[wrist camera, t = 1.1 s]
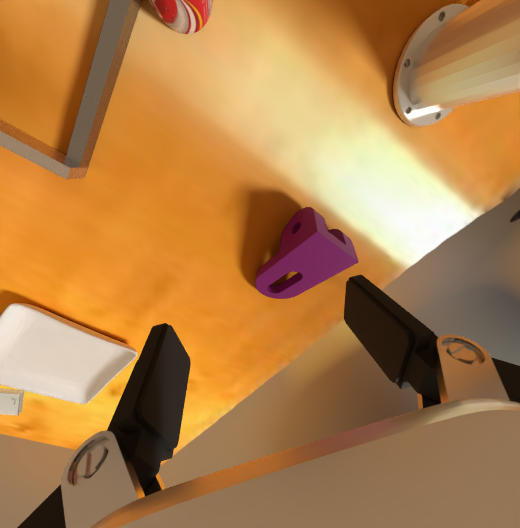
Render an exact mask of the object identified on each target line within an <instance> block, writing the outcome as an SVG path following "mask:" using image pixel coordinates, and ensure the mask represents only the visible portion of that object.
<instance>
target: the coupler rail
mask: <svg viewBox="0 0 520 528" xmlns="http://www.w3.org/2000/svg"><path fill="white" fill-rule="evenodd" d="M141 1H142V0H110V1H109V5H108V8H107V12H106V16H105V19H104V23H103V26H102V30H101V33H100V37H99V41H98V44H97V48H96V51H95V55H94V58H93V62H92V66H91V69H90V73H89V76H88V80H87V83H86V87H85V90H84V94H83V98H82V101H81V105H80V108H79V112H78V115H77V119H76V123H75V126H74V130H73V133H72V137H71V140H70V144H69V148H68V151H67V155H64V154H63V153H61V152H59V151H57V150H55V149H53V148H52V147H50V146H48V145H46V144H44V143H43V142H41V141H39V140H37V139H35V138H33V137H32V136H30V135H28V134H26V133H24V132H22V131H21V130H19V129H17V128H15V127H13V126H12V125H10V124H8V123H6V122H4V121H2V120H1V119H0V146H2V147H4V148H6V149H8V150H10V151H12V152H14V153H16V154H18V155H20V156H22V157H24V158H26V159H28V160H30V161H32V162H34V163H36V164H38V165H40V166H42V167H43V168H45V169H47V170H49V171H51V172H53V173H55V174H57V175H59V176H61V177H63V178H65V179H75V178H84V177H85V175H86V172H87V169H88V166H89V163H90V159H91V156H92V153H93V150H94V147H95V144H96V141H97V138H98V135H99V132H100V128H101V125H102V122H103V119H104V116H105V113H106V110H107V107H108V104H109V101H110V97H111V94H112V91H113V88H114V85H115V82H116V79H117V76H118V73H119V69H120V66H121V63H122V60H123V57H124V54H125V51H126V48H127V45H128V42H129V38H130V35H131V32H132V29H133V26H134V23H135V20H136V17H137V14H138V11H139V7H140V4H141Z"/></svg>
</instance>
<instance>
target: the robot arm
mask: <svg viewBox="0 0 520 528" xmlns="http://www.w3.org/2000/svg"><path fill="white" fill-rule="evenodd" d="M517 92H520V0H480V1H478V2H477V3H475V4H473V5H472V6H470V7H469V6H467V5H464V4H450V5H448V6H445V7H443V8H441V9H439V10H438V11H436V12H435V13H433V14H432V15H431V16H429V17H428V18H427V19H425V20H424V21H423V22H422V23H421V24H420V25H419V26H418V28H417V29H416V30H415V31H414V33H413V34H412V35H411V37H410V38H409V40H408V42H407V44H406V45H405V47H404V49H403V51H402V54H401V56H400V59H399V61H398V64H397V68H396V72H395V76H394V83H393V98H394V105H395V108H396V111H397V113H398V115H399V117H400V118H401V119H402V120H403V121H404V122H405V123H406V124H408V125H410V126H415V127H421V126H427V125H431V124H434V123H436V122H438V121H440V120H441V119H443V118H444V117H446V116H447V115H448V114H449V113H450V112H451V111H452V110H453V109H454V108H455V107H458V106H462V105H466V104H471V103H475V102H479V101H483V100H487V99H492V98H496V97H500V96H504V95H508V94H512V93H517ZM344 320H345V322H346V324H347V325H348V326H349V328H350V329H351V330H352V332H353V333H354V334H355V335H356V337H357V338H358V339H359V341H360V342H361V343H362V344H363V346H364V347H365V348H366V350H367V351H368V352H369V354H370V355H371V356H372V357H373V359H374V360H375V361H376V363H377V364H378V365H379V366H380V368H381V369H382V370H383V372H384V373H385V374H386V375H387V377H388V378H389V379H390V380H391V381H392V382H393V383H396V384H397V385H398V386H399V388H400V389H403V388H407V387H410V386H412V387H413V388H414V390H415V391H416V392H417V395H418V406H419V410H416V411H413V412H409V413H405V414H402V415H399V416H395V417H392V418H389V419H386V420H382V421H379V422H376V423H372V424H369V425H366V426H363V427H359V428H356V429H353V430H349V431H346V432H343V433H340V434H336V435H333V436H330V437H327V438H323V439H320V440H317V441H314V442H311V443H307V444H304V445H301V446H298V447H294V448H291V449H288V450H285V451H282V452H278V453H275V454H272V455H269V456H266V457H262V458H259V459H256V460H253V461H250V462H247V463H243V464H241V465H238V466H234V467H231V468H228V469H225V470H221V471H218V472H215V473H212V474H209V475H206V476H202V477H199V478H197V479H193V480H191V481H188V482H185V483H182V484H179V485H176V486H173V487H170V488H167V489H166V488H165V486H164V484H163V482H162V480H161V478H160V476H159V474H158V472H159V468H160V463H161V461H164V460H167V459H170V458H172V456H173V450H174V448H176V447H177V445H178V441H179V434H180V428H181V422H182V415H183V409H184V402H185V396H186V390H187V383H188V377H189V370H190V358H189V356H188V354H187V352H186V351H185V349H184V347H183V345H182V343H181V342H180V340H179V338H178V336H177V334H176V333H175V331H174V329H173V327H172V326H171V325H168V324H166V323H164V324H160V325H156V326H153V327H152V329H151V331H150V334H149V336H148V338H147V341H146V343H145V346H144V348H143V350H142V353H141V355H140V357H139V359H138V361H137V362H136V364H135V367H134V369H133V371H132V374H131V376H130V378H129V381H128V383H127V385H126V388H125V390H124V392H123V395H122V397H121V399H120V401H119V404H118V406H117V408H116V411H115V413H114V415H113V418H112V420H111V422H110V425H109V427H108V429H107V431H101V432H99V433H97V434H95V435H93V436H92V437H90V438H89V439H88V440H86V441H85V442H84V443H83V444H82V445H81V446H80V447H79V448H78V449H77V450H76V452H75V453H74V454H73V456H72V457H71V458H70V460H69V462H68V464H67V465H66V467H65V469H64V472H63V475H62V480H61V485H60V486H59V487H58V488H57V489H56V490H55V491H54V492H53V493H52V494H51V495H50V496H49V497H48V498H47V499H46V500H45V501H44V502H43V503H42V504H41V505H40V506H39V507H38V508H37V509H36V510H35V511H34V512H33V513H32V514H31V515H30V516H29V517H28V518H27V519H26V520H25V521H24V522H23V523H22V524H21V525H20V526H19V527H18V528H520V366H518V365H514V364H511V363H508V362H504V361H501V360H498V359H494V358H491V357H490V355H489V354H488V352H487V351H486V350H485V349H484V348H483V347H481V346H480V345H478V344H476V343H475V342H474V341H472V340H469V339H467V338H465V337H462V336H458V335H452V334H447V335H442V336H439V337H437V336H436V335H435V334H434V332H432V331H431V330H430V329H429V328H427V327H426V326H425V325H424V324H422V323H421V322H420V321H419V320H417V319H416V318H415V317H414V316H412V315H411V314H410V313H409V312H407V311H406V310H405V309H404V308H402V307H401V306H400V305H399V304H397V303H396V302H395V301H393V299H391V298H390V297H389V296H388V295H386V294H385V293H384V292H382V291H381V290H380V289H379V288H378V287H376V286H375V285H374V284H373V283H371V282H370V281H369V280H368V279H366V278H365V277H364V276H362V275H358V276H354V277H350V278H349V281H347V282H346V294H345V308H344Z"/></svg>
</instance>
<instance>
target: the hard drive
mask: <svg viewBox="0 0 520 528" xmlns="http://www.w3.org/2000/svg"><path fill="white" fill-rule="evenodd" d="M23 395H24V390H14V389H2V388H0V414H5V415H19V414H20V413H21V411H22V405H23Z"/></svg>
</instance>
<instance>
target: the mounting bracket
mask: <svg viewBox="0 0 520 528" xmlns="http://www.w3.org/2000/svg"><path fill="white" fill-rule="evenodd" d="M358 262H359V261H358V258H357V255H356V252H355V249H354V246H353V243H352V241H351V239H350V238H349V237H347V236H346V235H345V234H344V233H342V232H341V231H340V230H338V229H331V230H328V231H327V228H326V224H325V220H324V218H323V217H322V216H321V215H320V214H319V213H317V212H316V211H315V210H314V209H312V208H311V207H306V208H303V209H301V210H300V211H298V212H297V213H296V214H295V215H294V216H293V217H292V219H291V220H290V221H289V223H288V224H287V225H286V227H285V228H284V230H283V233H282V235H281V240H280V251H279V252H278V253H277V254H276V255H275V256H274V257H273V258H271V259H270V260H269V261H268V262H266V263H265V264H264V265H263V266H261V267H260V268H259V269H258V271H257V274H256V282H255V285H256V288H257V290H258V291H259V292H260V293H262V294H263V295H265V296H268V297H271V298H277V299H286V298H291V297H294V296H297V295H299V294H301V293H302V292H304V291H306V290H308V289H310V288H312V287H314V286H315V285H317V284H319V283H321V282H323V281H325V280H327V279H328V278H330V277H332V276H334V275H336V274H338V273H339V272H341V271H343V270H345V269H347V268H349V267H351V266H352V265H354V264H356V263H358ZM292 271H295V272H298V273H297V274H295V275H294V276H292V277H291V278H289V279H288V280H286V281H284V282H283V283H281V284H279V285H272V283H273V282H275V281H276V280H278V279H279V278H281V277H282V276H284V275H285V274H287V273H288V272H292Z"/></svg>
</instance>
